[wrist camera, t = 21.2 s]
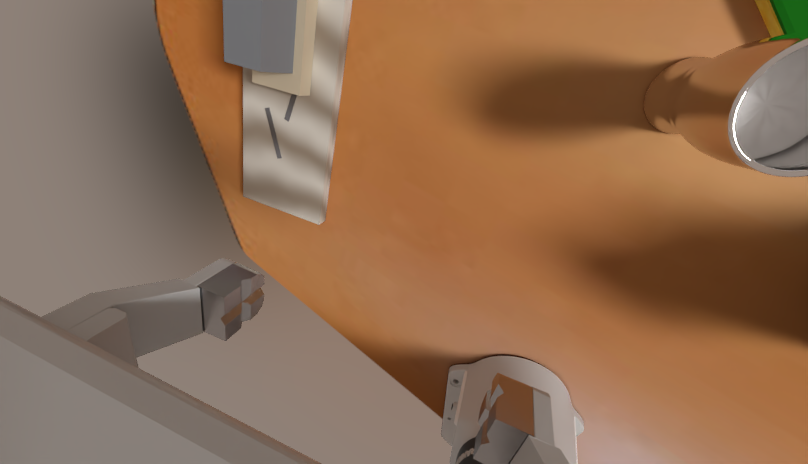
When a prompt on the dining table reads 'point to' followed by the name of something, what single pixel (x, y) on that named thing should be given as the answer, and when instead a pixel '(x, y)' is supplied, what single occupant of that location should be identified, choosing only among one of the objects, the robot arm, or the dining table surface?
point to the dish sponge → (784, 16)
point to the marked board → (297, 126)
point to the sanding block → (272, 41)
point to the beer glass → (740, 104)
